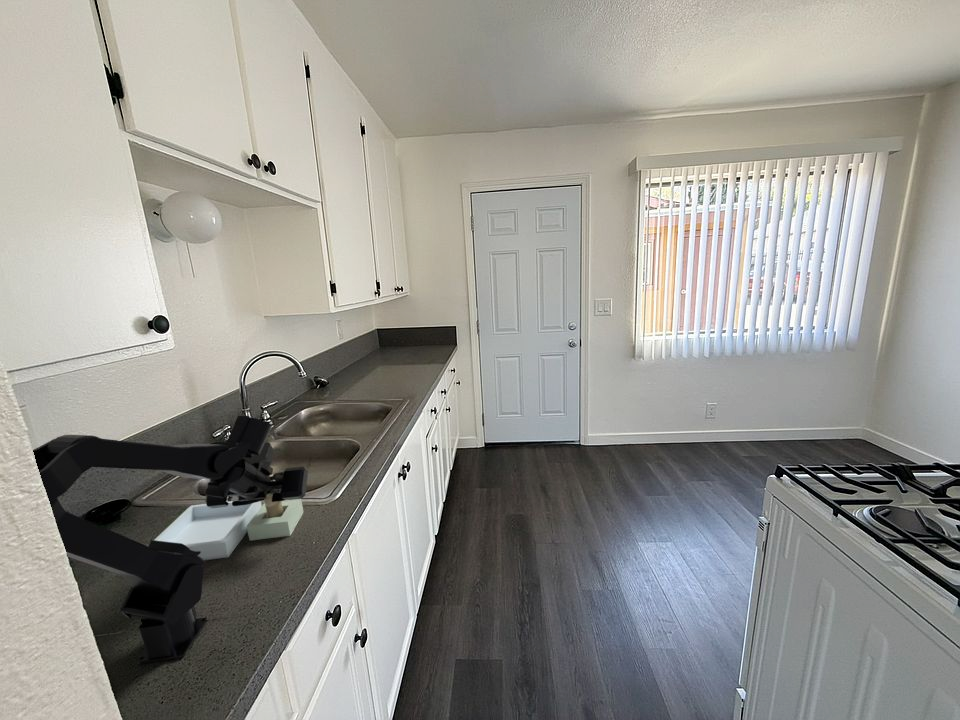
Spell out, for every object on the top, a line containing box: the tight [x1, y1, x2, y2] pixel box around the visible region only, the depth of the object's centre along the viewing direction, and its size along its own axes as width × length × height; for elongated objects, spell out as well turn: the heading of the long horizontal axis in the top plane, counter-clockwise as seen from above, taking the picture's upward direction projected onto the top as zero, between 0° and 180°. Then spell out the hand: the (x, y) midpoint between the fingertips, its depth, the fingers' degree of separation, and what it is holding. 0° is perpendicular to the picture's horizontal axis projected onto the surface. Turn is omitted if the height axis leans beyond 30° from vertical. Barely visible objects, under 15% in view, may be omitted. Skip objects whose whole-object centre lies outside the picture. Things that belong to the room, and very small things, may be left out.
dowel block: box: [247, 499, 304, 541], centre depth 86 cm, size 8×8×4 cm
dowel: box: [263, 473, 284, 518], centre depth 85 cm, size 3×3×12 cm
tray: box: [154, 500, 263, 561], centre depth 83 cm, size 16×16×4 cm
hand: (275, 496), depth 86 cm, fingers open, 4 cm apart
